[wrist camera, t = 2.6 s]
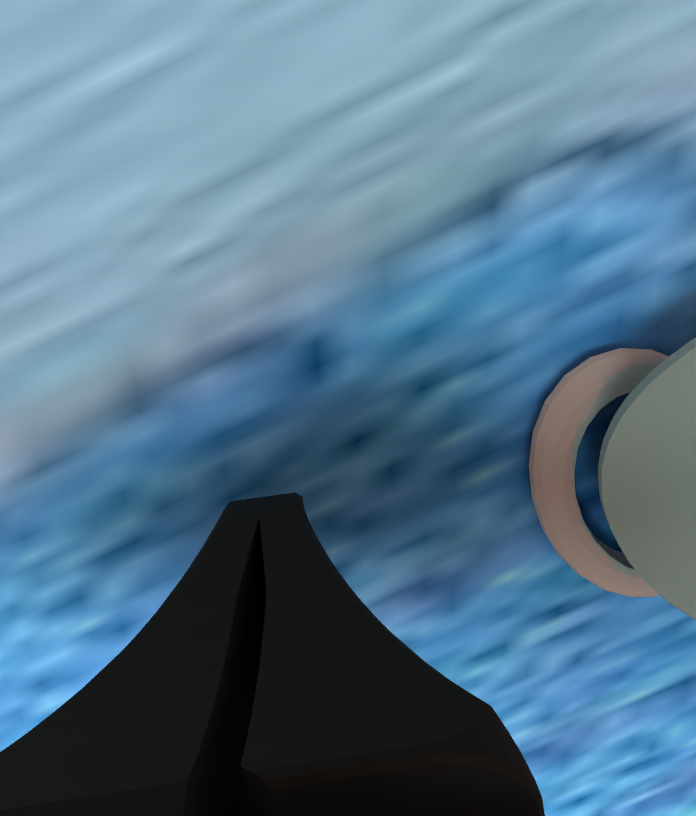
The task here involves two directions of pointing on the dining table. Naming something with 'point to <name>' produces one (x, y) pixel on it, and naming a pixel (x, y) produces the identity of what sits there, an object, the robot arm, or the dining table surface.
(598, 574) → the pacifier
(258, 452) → the dining table surface
